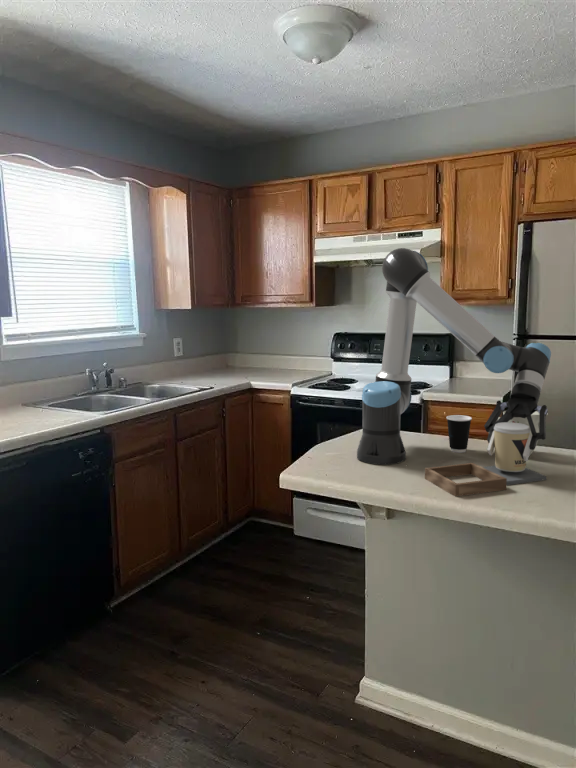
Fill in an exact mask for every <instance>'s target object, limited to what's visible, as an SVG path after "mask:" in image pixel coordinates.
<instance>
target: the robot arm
mask: <svg viewBox="0 0 576 768" xmlns="http://www.w3.org/2000/svg"><path fill="white" fill-rule="evenodd" d="M381 269H382V271H381V272H382V275H383V277H384V279H385V281H386V288H385V293H386V294H387V296H388V297H389V303H388V309H387V310H388V311H387V319H386V326H385V327H386V328H385V336H384V344H383V345H384V346H383V353H382V360H381V361H382V362H381V369H380V371H378V372H377V373H376V375H375V380H374V381H373V382H369V383H367V384H366V385H364V386H363V388H362V394H361V400H362V401H361V404H362V406H361V407H362V409H361V411H362V416H361V417H362V425H361V426H362V434H361V437H360V439H359V443H358V445H357V449H356V457H357V458H356V459H357V460H358V461H360V462H363V463H367V464H370V465H371V464H372V465H394V464H399V463H402V462H405V460H406V457H407V455H406V454H407V453H406V448H405V446H404V441H403V439H402V435H401V415H402V414H403V413H405V411H407V410H408V408H409V407H410V405H411V402H412V397H413V396H412V392H411V391H412V390H411V387H412V386H411V385H412V377H411V376H410V375H409V367H410V366H409V365H410V357H411V356H410V355H411V349H412V342H413V341H412V340H413V332H414V325H415V319H416V318H415V317H416V310H417V304H418V305H419V306H421V307H422V308H423V309H424V310H425V311H426V312H427V313H428V314H429V315H430V316H432V317H433V318H434V319H435V320H436V321H437V322H438V323H439V324H440V325H441V326H442V327H444V329H446V330H447V331H448V332H449V333H450V334H451V335H453V336H454V337H455V338H456V339H457V340H458V341H459V342H460V343H461V344H462V345H464V347H466V348H467V349H468V350H469V351H471V353H472V354H473V355H474V356H475V357H476V358H478V360H479V361H480V362H482V363H483V364H484V366H485V368H486V369H487V371H489V372H491V373H493V374H501V373H505V372H507V371H513V372H516V373H517V375H516V377H515V381H514V383H513V387H512V390H511V394H510V396H509V399H508V401H505V402H502V401H501V400H497V401H496V405H495V408H494V409H493V411H492V412H491V414H490V416H489V417H488V419H487V421H486V422H485V424H484V426H483V427H484V429H485V432H487V433H488V435H487V438H486V441H487V443H488V446H487V449H486V451H487V453H488V455H489V456H493V453H494V451H495V441H494V426H495V424H497V423H501V422H508V421H509V420H512V419H513V418H514V417H521V418H526V417H527V420H528V423H529V426H530V430H531V433H532V436H531V435H529V437H528V440H527V442H526V446H525V449H524V453H523V458H524V460H525V461H526V462H528V460H529V457H530V455H531V454H530V451H531V450H534V451H535V449H536V448H537V445H536V443H537V444H538V442H537V440H538V441H539V440H543V441H544V440H546V438H547V436H546V435H547V434H546V433H547V432H546V431H547V429H546V428H547V426H546V423H547V421H546V420H547V418H546V417H547V416H548V415H547V414H549V410H548V407H547V405H546V404H543V405H538V404H539V399H540V397H541V392H542V390H543V386H544V382H545V379H546V375H547V372H548V369H549V365H550V363H551V361H550V360H551V356H552V351H551V349H550V347H548V345H546V344H544V343H542V342H541V343H540V342H536V343H535V342H531V343H529V344H527V345H526V347H523V346H518V345H515V344H511V343H508V342H504V341H501V340H499V338H497V337H496V335H494V334H493V333H492V332H490V331H489V330H488V329H487V328H486V327H485V326H484V325H483V324H481V322H479V321H478V320H477V319H476V317H474V316H473V315H472V314H471V313H470V312H468V311H467V309H465V308H464V307H463V306H462V305H461V304H459V303H458V302H457V301H456V299H454V298H453V297H452V296H451V295H450V294H448V293H447V292H446V291H445V289H443V288H442V287H441V286H440V285H439V284H437V282H435V281H434V280H433V279H432V278H431V273H430V271H429V267H428V263H427V260H426V259H425V257H424V256H423V255H422V254H421V253H420V252H418V251H416V250H412V249H409V248H405V247H400V248H396V249H394V250H391V251H390V252H389V253H388V254H387V255H386V256H385V258H384V260H383V262H382V266H381ZM505 408H507V409H506V410H505ZM503 411H506V412H505V414H504V415H503ZM535 411H536V412H539V420H540V421H539V433H536V430H535V427H534V423H533V420H532V417H531V414H533V413H534V412H535ZM501 415H502V416H501ZM499 417H500V419H499V420H498V421H497V419H498V418H499ZM529 454H530V455H529Z"/></svg>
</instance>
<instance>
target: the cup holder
mask: <svg viewBox="0 0 576 768" xmlns="http://www.w3.org/2000/svg"><path fill="white" fill-rule="evenodd" d="M483 467H484V466H481V465H478V464H476V463H474V462H468V463H458V464H457V463H456V464H450V465H442V466H441V465H440V466H432V467H425V468H424V479H425V480H427V481H428V482H430V483H431V484H433V485H434V486H436V487H438V488H440V489H442V490H443V491H445V492H447V493H449V494H450V495H452V496H454V497H455V498H456V497H462V496H463V497H465V496H470V495H477V494H484V493H485V492H486V493H492V492H499V491H506V490H507V485H506V483H507V479H506V478H504V477H502V476H500V475H498V474H496V473H493V472H491V471H489V470H487V469H485V468H483ZM460 475H461V476H466V475H467V476H469V475H471V476H474V477H476V478H477V479H478V480H475V481H464V482H459V483H458V482H455V481H453V480H451V479H449V478H452V477H451V476H453V477H459V476H460ZM479 479H480V480H479ZM481 479H482V480H481ZM486 493H485V494H486Z"/></svg>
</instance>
